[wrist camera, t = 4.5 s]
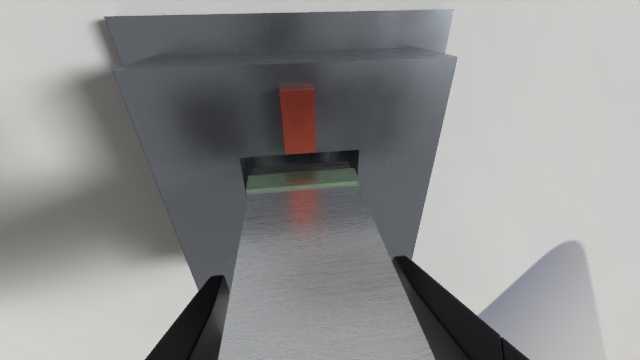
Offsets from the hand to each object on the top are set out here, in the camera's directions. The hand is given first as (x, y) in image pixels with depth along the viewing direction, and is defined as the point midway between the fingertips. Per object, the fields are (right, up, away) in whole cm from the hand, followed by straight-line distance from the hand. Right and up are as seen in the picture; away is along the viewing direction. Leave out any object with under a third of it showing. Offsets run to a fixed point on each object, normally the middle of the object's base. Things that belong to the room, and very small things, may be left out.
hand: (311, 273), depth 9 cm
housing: (-1, +4, +7) cm, 8 cm away
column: (-1, +3, +4) cm, 5 cm away
